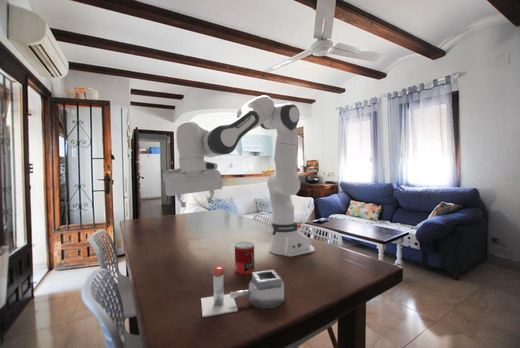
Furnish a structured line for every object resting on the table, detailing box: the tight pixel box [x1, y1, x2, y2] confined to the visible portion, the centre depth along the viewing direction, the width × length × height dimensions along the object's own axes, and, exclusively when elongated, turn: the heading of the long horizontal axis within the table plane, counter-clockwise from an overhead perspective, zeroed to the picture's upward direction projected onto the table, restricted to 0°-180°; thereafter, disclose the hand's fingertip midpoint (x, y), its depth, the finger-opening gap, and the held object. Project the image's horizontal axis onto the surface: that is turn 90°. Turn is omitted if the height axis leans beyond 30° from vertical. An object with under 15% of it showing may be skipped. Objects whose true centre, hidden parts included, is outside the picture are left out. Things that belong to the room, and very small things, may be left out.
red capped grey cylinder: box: [211, 265, 226, 306], centre depth 76 cm, size 4×4×11 cm
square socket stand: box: [229, 269, 285, 310], centre depth 78 cm, size 17×11×8 cm, turn 106°
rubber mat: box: [200, 293, 239, 318], centre depth 76 cm, size 10×10×1 cm
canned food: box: [234, 241, 255, 276], centre depth 101 cm, size 8×8×11 cm
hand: (197, 205), depth 91 cm, fingers open, 8 cm apart
